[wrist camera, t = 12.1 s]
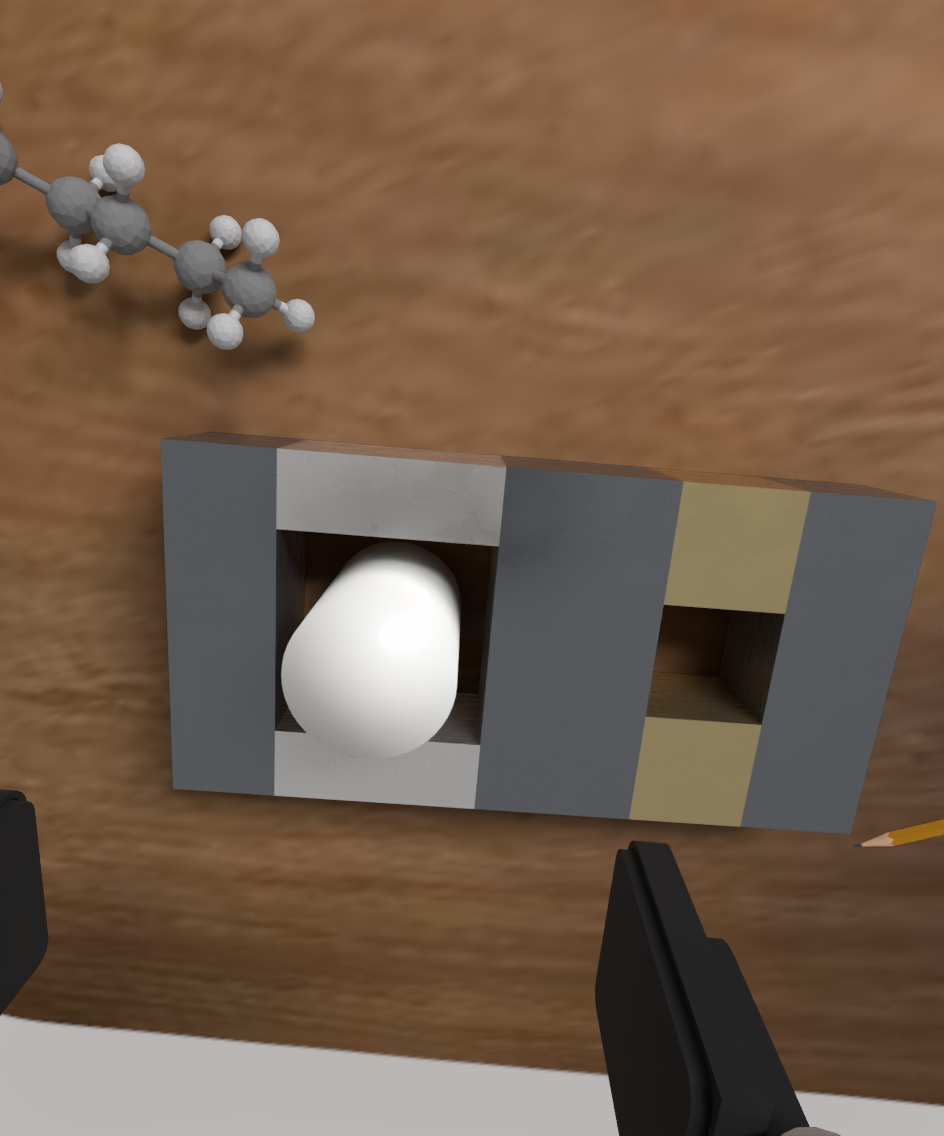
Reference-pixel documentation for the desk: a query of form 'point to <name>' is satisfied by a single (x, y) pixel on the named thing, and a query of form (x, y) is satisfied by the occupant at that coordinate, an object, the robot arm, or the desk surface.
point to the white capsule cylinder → (377, 654)
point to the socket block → (550, 629)
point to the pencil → (907, 835)
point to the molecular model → (160, 244)
